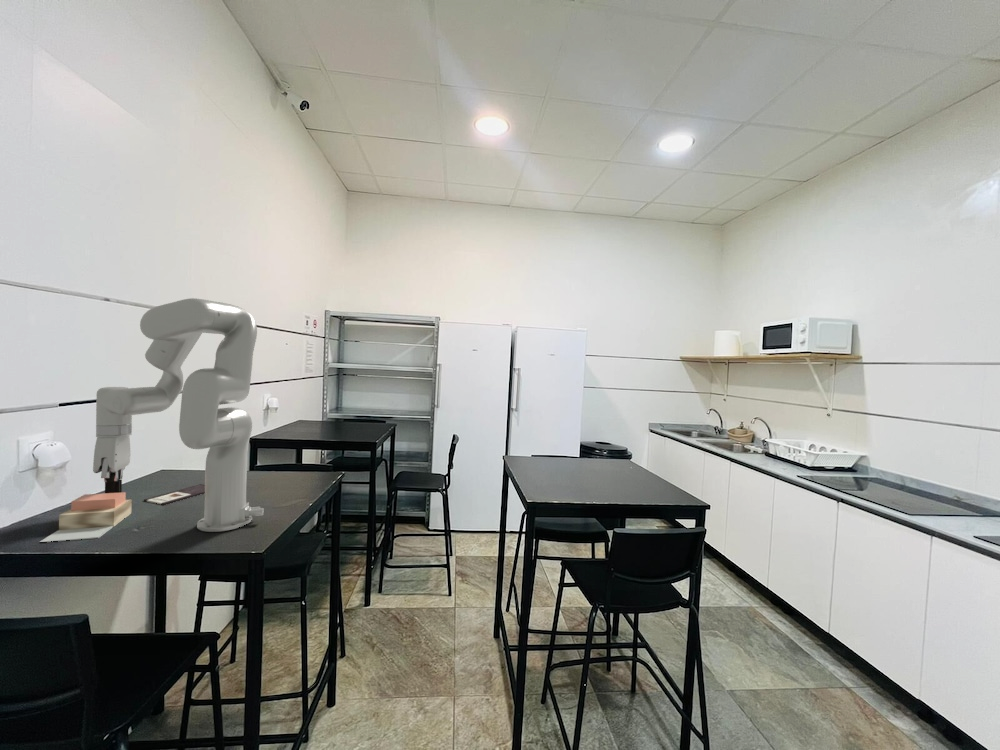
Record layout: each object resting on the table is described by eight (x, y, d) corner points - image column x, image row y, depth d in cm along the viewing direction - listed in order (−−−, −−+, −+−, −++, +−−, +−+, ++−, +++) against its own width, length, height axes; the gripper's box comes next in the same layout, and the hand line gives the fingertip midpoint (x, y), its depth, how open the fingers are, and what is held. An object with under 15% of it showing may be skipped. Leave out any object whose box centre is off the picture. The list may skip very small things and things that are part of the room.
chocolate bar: (220, 487, 145) (164, 503, 128) (220, 490, 145) (164, 506, 128) (200, 484, 148) (143, 499, 131) (200, 486, 148) (143, 502, 131)
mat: (112, 527, 111) (112, 526, 111) (98, 538, 104) (98, 536, 104) (57, 531, 107) (57, 530, 107) (39, 543, 100) (39, 541, 100)
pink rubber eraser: (125, 500, 119) (125, 492, 119) (114, 507, 113) (115, 499, 113) (84, 503, 116) (84, 494, 116) (71, 510, 110) (71, 501, 110)
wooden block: (131, 513, 120) (131, 499, 120) (113, 526, 111) (114, 511, 111) (81, 516, 117) (81, 502, 116) (59, 530, 107) (59, 515, 107)
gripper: (111, 426, 127) (110, 487, 127) (82, 435, 113) (81, 503, 113) (142, 426, 129) (141, 486, 130) (117, 434, 115) (116, 501, 116)
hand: (113, 494), depth 121 cm, fingers closed
